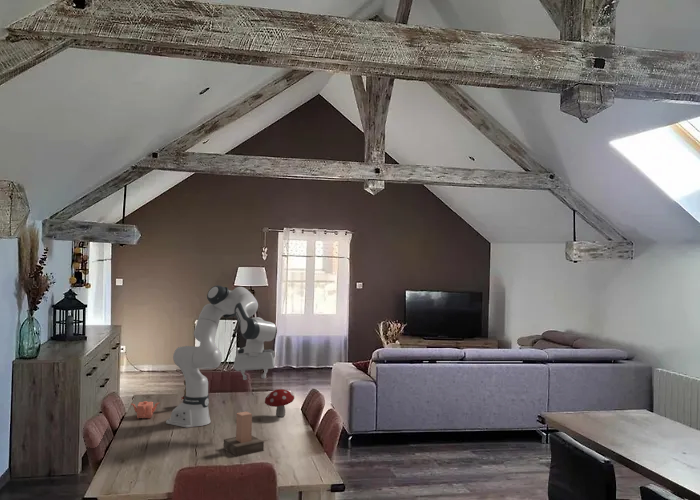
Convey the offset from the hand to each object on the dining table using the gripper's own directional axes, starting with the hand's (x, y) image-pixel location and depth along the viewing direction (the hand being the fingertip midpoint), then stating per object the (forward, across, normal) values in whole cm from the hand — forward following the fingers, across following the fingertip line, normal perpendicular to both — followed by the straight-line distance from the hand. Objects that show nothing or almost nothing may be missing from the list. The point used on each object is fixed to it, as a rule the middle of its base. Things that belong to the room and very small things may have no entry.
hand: (254, 378), depth 291 cm
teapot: (+13, +68, -20) cm, 72 cm away
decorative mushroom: (+15, 0, -38) cm, 41 cm away
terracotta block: (+29, -1, +15) cm, 33 cm away
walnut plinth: (+33, 0, +13) cm, 36 cm away
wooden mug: (+6, +54, -42) cm, 69 cm away
